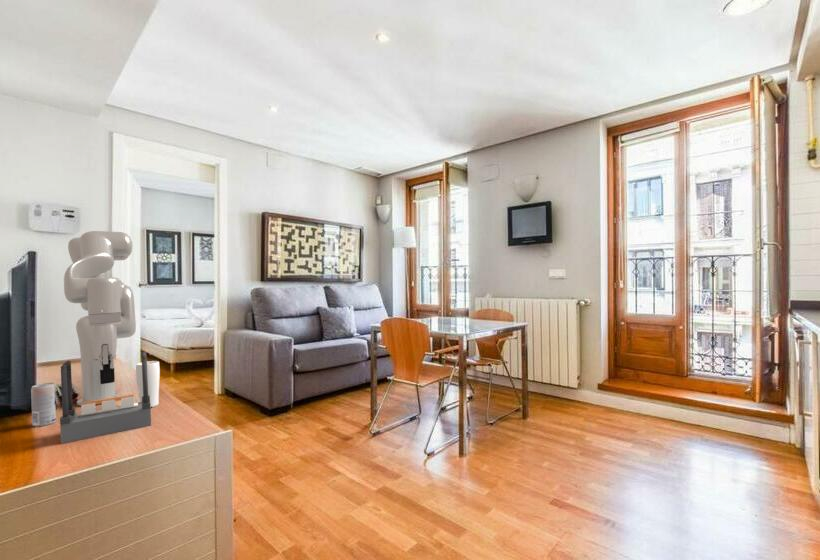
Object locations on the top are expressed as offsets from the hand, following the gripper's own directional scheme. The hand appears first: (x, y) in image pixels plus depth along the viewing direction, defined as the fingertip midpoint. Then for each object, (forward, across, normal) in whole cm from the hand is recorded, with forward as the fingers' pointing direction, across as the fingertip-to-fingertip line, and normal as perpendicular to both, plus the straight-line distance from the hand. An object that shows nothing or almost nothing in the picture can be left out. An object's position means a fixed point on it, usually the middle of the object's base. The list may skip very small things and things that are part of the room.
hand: (107, 382), depth 114 cm
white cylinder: (+14, -18, +10) cm, 25 cm away
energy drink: (+13, -20, -17) cm, 30 cm away
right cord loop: (+8, 0, +9) cm, 12 cm away
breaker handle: (+8, 0, 0) cm, 8 cm away
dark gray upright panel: (+8, 0, -9) cm, 12 cm away
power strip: (+13, 0, 0) cm, 14 cm away
